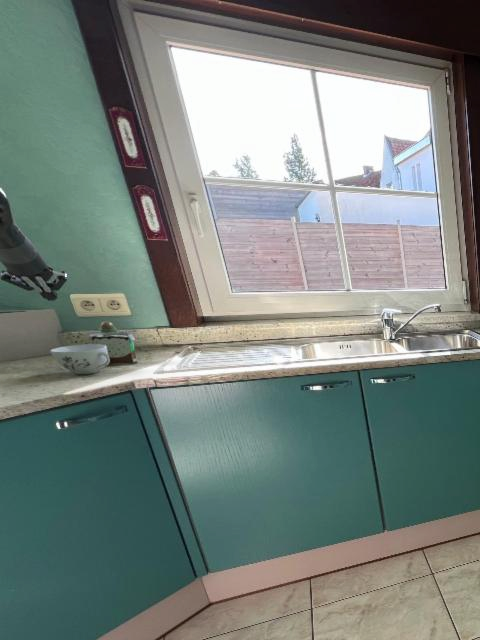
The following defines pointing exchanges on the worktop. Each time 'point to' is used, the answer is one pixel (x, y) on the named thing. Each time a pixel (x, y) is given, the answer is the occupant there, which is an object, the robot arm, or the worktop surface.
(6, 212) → the robot arm
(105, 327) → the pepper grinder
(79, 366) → the teacup
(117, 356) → the food container
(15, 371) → the worktop surface
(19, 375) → the worktop surface
